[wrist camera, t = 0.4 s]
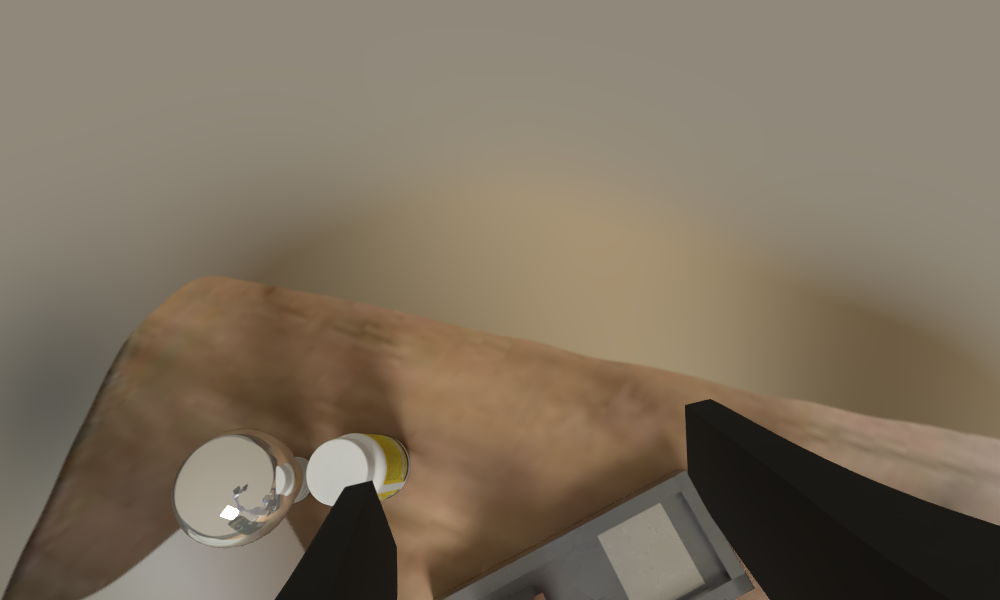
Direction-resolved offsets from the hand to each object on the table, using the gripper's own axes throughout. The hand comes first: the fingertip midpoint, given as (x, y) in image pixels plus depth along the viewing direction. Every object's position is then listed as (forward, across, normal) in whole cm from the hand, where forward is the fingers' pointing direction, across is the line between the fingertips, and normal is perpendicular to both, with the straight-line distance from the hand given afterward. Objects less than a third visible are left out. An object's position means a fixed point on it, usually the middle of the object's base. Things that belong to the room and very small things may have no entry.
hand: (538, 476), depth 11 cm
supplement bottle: (+24, +10, +17) cm, 31 cm away
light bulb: (+24, +16, +17) cm, 34 cm away
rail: (+15, -3, +25) cm, 29 cm away
